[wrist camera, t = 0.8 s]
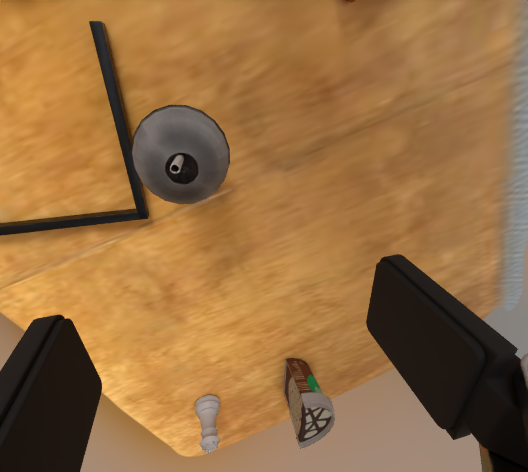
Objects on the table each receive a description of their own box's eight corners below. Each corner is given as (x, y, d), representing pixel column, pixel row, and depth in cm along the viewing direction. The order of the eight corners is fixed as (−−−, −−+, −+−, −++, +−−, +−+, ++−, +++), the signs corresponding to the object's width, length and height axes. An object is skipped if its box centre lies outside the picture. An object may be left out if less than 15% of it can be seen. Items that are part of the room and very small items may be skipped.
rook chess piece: (212, 390, 52) (216, 436, 46) (223, 401, 55) (228, 447, 48) (190, 401, 52) (190, 449, 45) (202, 412, 55) (204, 459, 48)
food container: (311, 389, 60) (333, 441, 51) (283, 396, 58) (300, 450, 50) (317, 347, 54) (342, 397, 45) (286, 353, 53) (305, 406, 44)
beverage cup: (160, 172, 33) (132, 266, 16) (139, 103, 30) (74, 128, 13) (222, 161, 34) (258, 237, 17) (209, 93, 31) (239, 104, 14)
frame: (-141, 21, 23) (-156, 18, 22) (104, 23, 26) (101, 21, 25) (-23, 234, 32) (-30, 239, 31) (149, 214, 35) (148, 218, 34)
